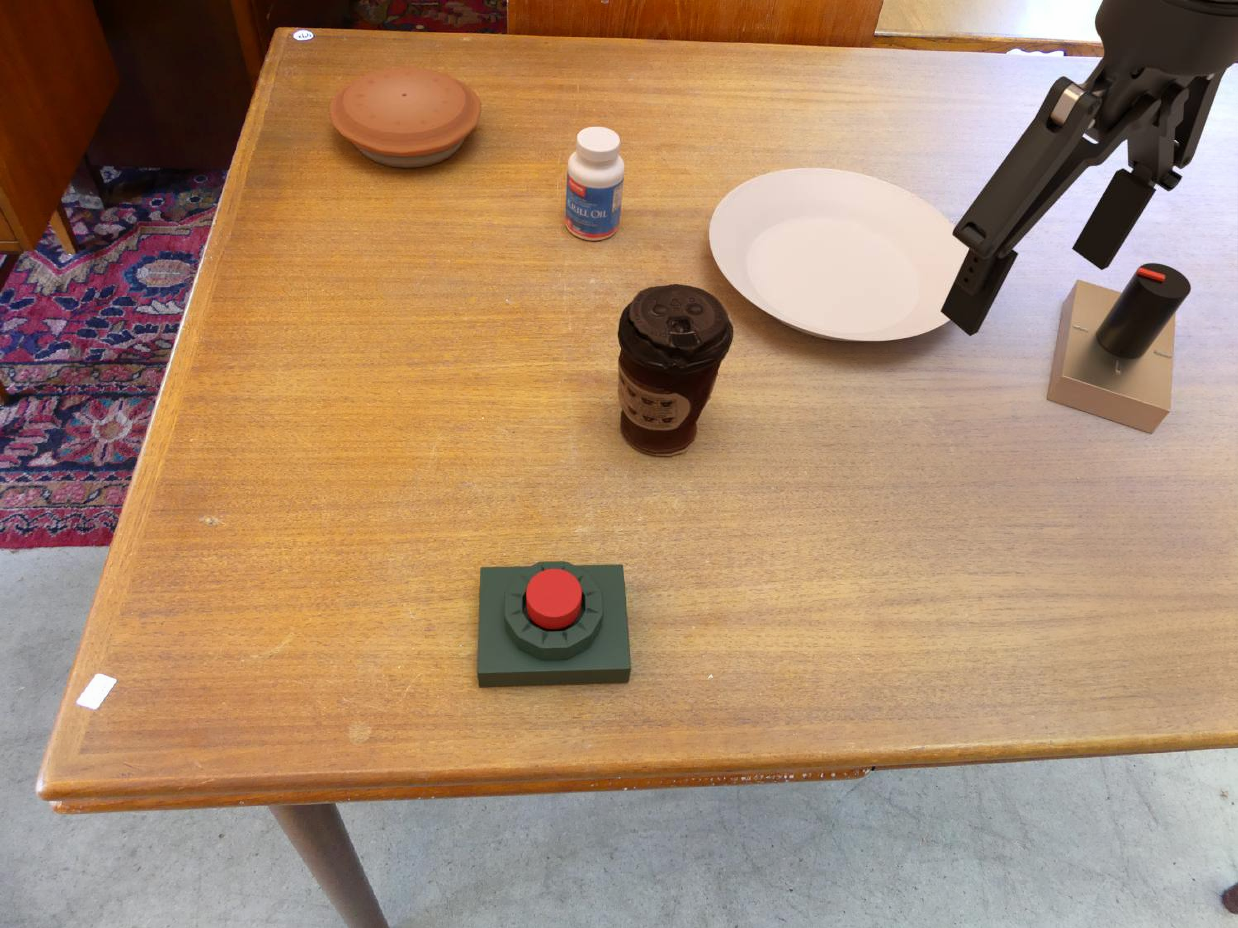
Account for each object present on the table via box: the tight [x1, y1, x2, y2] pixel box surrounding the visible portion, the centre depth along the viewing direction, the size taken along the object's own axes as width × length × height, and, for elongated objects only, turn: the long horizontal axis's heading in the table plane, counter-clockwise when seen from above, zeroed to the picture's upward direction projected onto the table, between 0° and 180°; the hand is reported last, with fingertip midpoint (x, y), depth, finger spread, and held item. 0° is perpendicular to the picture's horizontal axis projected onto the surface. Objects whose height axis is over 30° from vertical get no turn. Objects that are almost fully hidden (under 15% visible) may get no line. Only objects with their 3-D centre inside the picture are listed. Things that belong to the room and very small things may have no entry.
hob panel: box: [1046, 279, 1177, 434], centre depth 83 cm, size 14×9×3 cm, turn 157°
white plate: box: [708, 167, 969, 343], centre depth 88 cm, size 25×25×4 cm
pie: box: [328, 66, 482, 169], centre depth 96 cm, size 16×16×5 cm
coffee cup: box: [617, 283, 735, 457], centre depth 70 cm, size 9×8×13 cm
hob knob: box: [1097, 262, 1192, 358], centre depth 79 cm, size 4×4×7 cm
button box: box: [476, 560, 632, 688], centre depth 62 cm, size 10×8×4 cm
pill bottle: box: [564, 126, 626, 242], centre depth 87 cm, size 6×5×10 cm
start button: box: [526, 569, 582, 630], centre depth 60 cm, size 4×4×2 cm
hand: (1026, 289), depth 63 cm, fingers open, 13 cm apart
